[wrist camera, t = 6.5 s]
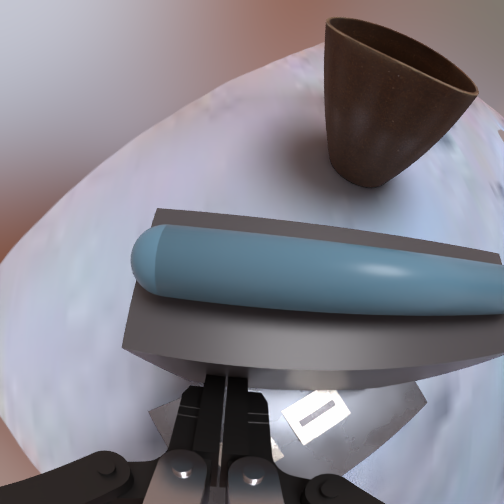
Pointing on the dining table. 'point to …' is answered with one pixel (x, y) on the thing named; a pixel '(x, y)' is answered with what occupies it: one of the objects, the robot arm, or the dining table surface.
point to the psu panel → (320, 426)
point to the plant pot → (386, 99)
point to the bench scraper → (308, 303)
